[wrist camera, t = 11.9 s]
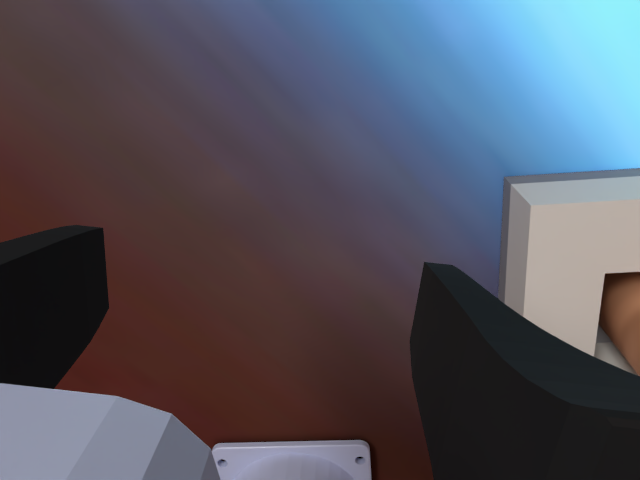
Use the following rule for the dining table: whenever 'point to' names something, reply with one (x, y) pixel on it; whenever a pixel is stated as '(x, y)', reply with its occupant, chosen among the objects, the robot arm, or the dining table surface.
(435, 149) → the dining table surface
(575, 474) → the robot arm
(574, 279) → the hole block
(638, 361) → the peg
